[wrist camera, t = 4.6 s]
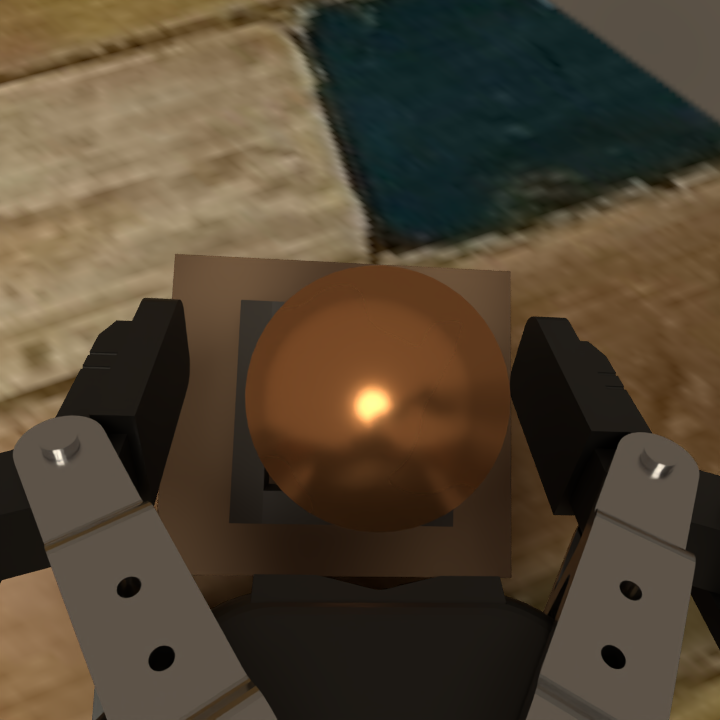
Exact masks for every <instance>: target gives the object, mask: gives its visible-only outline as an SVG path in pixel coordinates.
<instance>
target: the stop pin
mask: <svg viewBox="0 0 720 720" xmlns="http://www.w3.org/2000/svg"><path fill="white" fill-rule="evenodd" d="M245 407H246V415H247V422H248V428H249V431H250V435H251V438H252V441H253V445H254V447H255V449H256V451H257V454H258V456H259V458H260V460H261V462H262V464H263V465H264V467H265V469H266V470H267V472H268V474H269V475H270V477H271V478H272V479H273V480H274V481H275V483H276V484H277V485H278V486H279V488H280V489H281V490H282V491H283V492H284V493H285V494H286V495H287V496H288V497H289V498H291V499H292V500H293V501H294V502H295V503H296V504H298V505H299V506H300V507H302V508H303V509H305V510H306V511H307V512H309V513H311V514H313V515H314V516H316V517H318V518H320V519H322V520H324V521H326V522H329V523H332V524H334V525H337V526H340V527H343V528H348V529H352V530H357V531H364V532H376V533H378V532H395V531H401V530H406V529H411V528H415V527H418V526H421V525H424V524H427V523H429V522H431V521H433V520H435V519H437V518H439V517H442V516H444V515H445V514H447V513H448V512H450V511H451V510H453V509H454V508H456V507H457V506H459V505H460V504H461V503H462V502H463V501H464V500H466V499H467V498H468V497H469V496H470V495H471V494H472V493H473V492H474V491H475V490H476V489H477V488H478V486H479V485H480V484H481V483H482V482H483V481H484V479H485V478H486V476H487V475H488V473H489V472H490V470H491V468H492V467H493V465H494V463H495V461H496V459H497V457H498V455H499V453H500V451H501V448H502V445H503V442H504V439H505V436H506V432H507V427H508V422H509V416H510V385H509V378H508V373H507V368H506V364H505V361H504V358H503V355H502V352H501V349H500V347H499V345H498V343H497V341H496V339H495V337H494V335H493V333H492V331H491V330H490V328H489V327H488V325H487V324H486V322H485V321H484V319H483V318H482V317H481V316H480V314H479V313H478V312H477V311H476V310H475V309H474V307H473V306H472V305H471V304H469V303H468V302H467V301H466V300H465V299H464V298H463V297H462V296H461V295H459V294H458V293H457V292H455V291H454V290H452V289H451V288H450V287H448V286H447V285H445V284H443V283H441V282H439V281H438V280H436V279H434V278H432V277H429V276H427V275H424V274H422V273H419V272H416V271H412V270H408V269H404V268H400V267H392V266H361V267H354V268H348V269H345V270H341V271H338V272H334V273H331V274H329V275H327V276H324V277H322V278H320V279H317V280H316V281H314V282H312V283H311V284H309V285H307V286H305V287H304V288H302V289H301V290H300V291H298V292H297V293H296V294H295V295H293V296H292V297H291V298H289V299H288V300H287V301H286V302H285V303H284V305H283V306H282V307H281V308H280V309H279V310H278V311H277V312H276V313H275V315H274V316H273V317H272V318H271V320H270V321H269V322H268V324H267V325H266V327H265V329H264V331H263V332H262V334H261V336H260V338H259V339H258V342H257V344H256V347H255V349H254V352H253V354H252V357H251V361H250V365H249V369H248V373H247V380H246V389H245Z"/></svg>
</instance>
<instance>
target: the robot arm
mask: <svg viewBox="0 0 720 720" xmlns="http://www.w3.org/2000/svg"><path fill="white" fill-rule="evenodd" d="M189 377H190V355H189V347H188V339H187V330H186V322H185V314H184V307H183V303H182V301H181V300H180V299H159V298H143V299H142V301H141V303H140V305H139V307H138V310H137V312H136V314H135V316H134V318H133V320H132V321H118V320H117V321H116V322H114V323H113V324H112V325H110V326H109V327H108V328H107V329H105V330H104V331H103V332H102V333H100V334H99V335H98V337H97V339H96V341H95V343H94V345H93V347H92V349H91V350H90V355H88V356H87V358H86V360H85V362H84V364H83V369H81V370H80V371H79V373H78V375H77V377H76V379H75V381H74V383H73V385H72V387H71V389H70V391H69V392H68V394H67V396H66V398H65V400H64V402H63V404H62V406H61V408H60V410H59V412H58V413H57V415H56V417H55V418H53V419H49V420H47V421H44V422H42V423H40V424H38V425H36V426H34V427H33V428H31V429H30V430H28V431H27V432H26V433H25V434H24V435H23V436H22V437H21V438H20V439H19V440H18V442H17V443H16V445H15V448H14V449H13V450H10V451H7V452H3V453H0V583H1V581H2V580H4V579H8V578H12V577H15V576H19V575H23V574H27V573H30V572H34V571H38V570H42V569H45V568H49V567H52V570H53V573H54V576H55V578H56V581H57V584H58V587H59V589H60V592H61V595H62V598H63V600H64V603H65V606H66V609H67V611H68V614H69V617H70V620H71V622H72V625H73V628H74V631H75V633H76V636H77V639H78V641H79V644H80V647H81V650H82V652H83V655H84V658H85V661H86V663H87V666H88V669H89V672H90V674H91V677H92V680H93V683H94V685H95V688H96V691H97V694H98V696H99V699H100V702H101V705H102V707H103V710H104V712H103V713H102V714H101V715H100V716H99V717H98V718H97V719H96V720H669V718H670V712H671V706H672V700H673V694H674V688H675V682H676V676H677V670H678V664H679V659H680V653H681V647H682V641H683V635H684V629H685V623H686V617H687V611H688V605H689V600H690V594H691V595H692V597H693V599H694V601H695V603H696V605H697V607H698V609H699V611H700V613H701V615H702V617H703V619H704V621H705V622H706V624H707V626H708V628H709V630H710V632H711V634H712V636H713V638H714V640H715V642H716V644H717V646H718V648H719V650H720V476H719V475H715V474H711V473H707V472H704V471H701V470H699V469H698V466H697V464H696V462H695V461H694V459H693V458H692V457H691V455H690V454H689V453H688V452H687V451H686V450H684V449H683V448H682V447H681V446H679V445H678V444H676V443H674V442H673V441H671V440H669V439H667V438H665V437H662V436H659V435H656V434H652V432H651V431H650V429H649V427H648V426H647V424H646V422H645V421H644V419H643V417H642V416H641V414H640V412H639V411H638V409H637V407H636V406H635V404H634V402H633V401H632V399H631V397H630V396H629V394H628V392H627V391H626V390H624V386H623V384H622V382H621V381H620V379H619V377H618V376H616V372H615V371H614V369H613V367H612V366H611V364H610V362H609V361H608V359H607V357H606V356H605V355H604V354H603V353H601V352H600V351H599V350H598V349H597V348H595V347H594V346H593V345H592V344H591V343H589V342H588V341H580V340H579V338H578V337H577V335H576V333H575V331H574V330H573V328H572V326H571V324H570V322H569V321H568V320H567V319H566V318H554V317H530V318H529V319H528V321H527V323H526V325H525V328H524V332H523V335H522V338H521V341H520V345H519V348H518V351H517V354H516V358H515V361H514V364H513V367H512V371H511V376H510V394H511V398H512V401H513V404H514V407H515V410H516V412H517V415H518V418H519V421H520V424H521V426H522V429H523V432H524V435H525V437H526V440H527V443H528V446H529V448H530V451H531V454H532V457H533V459H534V462H535V465H536V468H537V470H538V473H539V476H540V479H541V481H542V484H543V487H544V490H545V492H546V495H547V498H548V501H549V503H550V506H551V509H552V512H553V514H554V515H575V517H576V519H577V522H578V526H577V528H576V530H575V532H574V534H573V536H572V539H571V542H570V544H569V547H568V549H567V552H566V555H565V557H564V560H563V562H562V565H561V568H560V570H559V573H558V575H557V578H556V581H555V583H554V586H553V588H552V591H551V594H550V596H549V599H548V601H547V604H546V606H545V608H544V611H543V612H542V611H540V610H538V609H536V608H534V607H532V606H530V605H528V604H526V603H524V602H521V601H518V600H516V599H513V598H510V597H506V596H504V592H503V588H502V584H501V580H500V576H438V577H434V578H430V579H426V580H422V581H418V582H414V583H409V584H405V585H401V586H397V587H393V588H389V589H385V590H375V589H371V588H367V587H363V586H359V585H355V584H351V583H347V582H343V581H339V580H335V579H331V578H327V577H323V576H319V575H290V574H254V576H253V586H252V593H251V594H247V595H244V596H240V597H237V598H234V599H232V600H229V601H226V602H224V603H222V604H220V605H218V606H216V607H214V608H212V609H210V608H209V606H208V604H207V602H206V601H205V599H204V597H203V595H202V593H201V592H200V590H199V588H198V586H197V584H196V582H195V581H194V579H193V577H192V575H191V573H190V572H189V570H188V568H187V566H186V564H185V563H184V561H183V559H182V557H181V555H180V553H179V552H178V550H177V548H176V546H175V544H174V543H173V541H172V539H171V537H170V535H169V533H168V532H167V530H166V528H165V526H164V524H163V523H162V521H161V519H160V517H159V515H158V514H157V512H156V510H155V508H154V503H155V500H156V496H157V493H158V489H159V486H160V482H161V479H162V476H163V472H164V469H165V465H166V462H167V458H168V455H169V451H170V448H171V444H172V441H173V437H174V434H175V430H176V427H177V423H178V420H179V416H180V413H181V409H182V406H183V402H184V399H185V395H186V392H187V388H188V384H189Z"/></svg>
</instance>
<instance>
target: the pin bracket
mask: <svg viewBox="0 0 720 720" xmlns="http://www.w3.org/2000/svg"><path fill="white" fill-rule="evenodd" d="M361 266H392V267H400V268H404V269H408V270H412V271H416V272H419V273H422V274H424V275H427V276H429V277H432V278H434V279H436V280H438V281H439V282H441V283H443V284H445V285H447V286H448V287H450V288H451V289H452V290H454V291H455V292H457V293H458V294H459V295H461V296H462V297H463V298H464V299H465V300H466V301H467V302H468V303H469V304H471V305H472V306H473V307H474V309H475V310H476V311H477V312H478V313H479V314H480V316H481V317H482V318H483V319H484V321H485V322H486V324H487V325H488V327H489V328H490V330H491V331H492V333H493V335H494V337H495V339H496V341H497V343H498V345H499V347H500V349H501V352H502V355H503V358H504V361H505V364H506V368H507V373H508V378H509V385H510V376H511V291H510V271H491V270H472V269H453V268H433V267H414V266H395V265H376V264H357V263H337V262H318V261H299V260H280V259H260V258H241V257H222V256H203V255H184V254H175V264H174V279H173V294H172V299H180V300H181V301H182V303H183V307H184V314H185V322H186V330H187V339H188V347H189V355H190V377H189V384H188V388H187V392H186V395H185V399H184V402H183V406H182V409H181V413H180V416H179V420H178V423H177V427H176V430H175V434H174V437H173V441H172V444H171V448H170V451H169V455H168V458H167V462H166V465H165V469H164V472H163V476H162V479H161V482H160V486H159V498H158V513H157V514H158V515H159V517H160V519H161V521H162V523H163V524H164V526H165V528H166V530H167V532H168V533H169V535H170V537H171V539H172V541H173V543H174V544H175V546H176V548H177V550H178V552H179V553H180V555H181V557H182V559H183V561H184V563H185V564H186V566H187V568H188V570H189V572H190V573H191V575H233V576H254V574H290V575H319V576H354V577H438V576H500V578H511V394H510V416H509V422H508V427H507V432H506V436H505V439H504V442H503V445H502V448H501V451H500V453H499V455H498V457H497V459H496V461H495V463H494V465H493V467H492V468H491V470H490V472H489V473H488V475H487V476H486V478H485V479H484V481H483V482H482V483H481V484H480V485H479V486H478V488H477V489H476V490H475V491H474V492H473V493H472V494H471V495H470V496H469V497H468V498H467V499H466V500H464V501H463V502H462V503H461V504H460V505H459V506H457V507H456V508H454V509H453V510H451V511H450V512H448V513H447V514H445V515H444V516H442V517H439V518H437V519H435V520H433V521H431V522H429V523H427V524H424V525H421V526H418V527H415V528H411V529H406V530H401V531H395V532H378V533H376V532H364V531H357V530H352V529H348V528H343V527H340V526H337V525H334V524H332V523H329V522H326V521H324V520H322V519H320V518H318V517H316V516H314V515H313V514H311V513H309V512H307V511H306V510H305V509H303V508H302V507H300V506H299V505H298V504H296V503H295V502H294V501H293V500H292V499H291V498H289V497H288V496H287V495H286V494H285V493H284V492H283V491H282V490H281V489H280V488H279V486H278V485H277V484H276V483H275V481H274V480H273V479H272V478H271V477H270V475H269V474H268V472H267V470H266V469H265V467H264V465H263V464H262V462H261V460H260V458H259V456H258V454H257V451H256V449H255V447H254V445H253V441H252V438H251V435H250V431H249V428H248V422H247V415H246V407H245V389H246V380H247V373H248V369H249V365H250V361H251V357H252V354H253V352H254V349H255V347H256V344H257V342H258V339H259V338H260V336H261V334H262V332H263V331H264V329H265V327H266V325H267V324H268V322H269V321H270V320H271V318H272V317H273V316H274V315H275V313H276V312H277V311H278V310H279V309H280V308H281V307H282V306H283V305H284V303H285V302H286V301H287V300H288V299H289V298H291V297H292V296H293V295H295V294H296V293H297V292H298V291H300V290H301V289H302V288H304V287H305V286H307V285H309V284H311V283H312V282H314V281H316V280H317V279H320V278H322V277H324V276H327V275H329V274H331V273H334V272H338V271H341V270H345V269H348V268H354V267H361Z"/></svg>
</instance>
